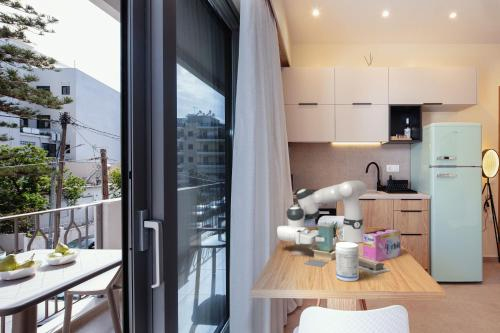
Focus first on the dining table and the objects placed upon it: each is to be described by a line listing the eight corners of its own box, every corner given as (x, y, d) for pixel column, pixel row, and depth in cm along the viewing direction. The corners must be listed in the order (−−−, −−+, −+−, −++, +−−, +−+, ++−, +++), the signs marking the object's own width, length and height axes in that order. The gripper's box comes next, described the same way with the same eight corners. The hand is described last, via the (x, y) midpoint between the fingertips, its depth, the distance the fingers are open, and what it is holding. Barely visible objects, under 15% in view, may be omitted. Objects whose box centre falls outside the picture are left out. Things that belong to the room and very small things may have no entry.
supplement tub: (337, 273, 145) (337, 240, 145) (359, 276, 141) (359, 242, 141) (334, 280, 136) (333, 245, 136) (357, 283, 132) (357, 247, 132)
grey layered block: (344, 255, 158) (359, 252, 163) (345, 265, 158) (359, 262, 163) (374, 265, 143) (389, 261, 147) (374, 276, 143) (390, 272, 147)
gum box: (389, 252, 181) (389, 227, 181) (402, 255, 174) (402, 230, 174) (362, 259, 167) (362, 233, 167) (376, 262, 161) (375, 235, 161)
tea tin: (318, 257, 169) (318, 224, 169) (322, 255, 173) (321, 222, 174) (329, 259, 166) (329, 225, 166) (333, 256, 170) (332, 223, 170)
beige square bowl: (307, 259, 168) (306, 249, 168) (318, 252, 180) (318, 243, 180) (334, 263, 159) (334, 253, 159) (344, 256, 172) (344, 246, 172)
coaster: (303, 265, 158) (303, 263, 158) (311, 260, 165) (311, 259, 165) (321, 268, 153) (321, 266, 153) (328, 263, 160) (328, 261, 160)
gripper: (310, 237, 186) (334, 240, 178) (294, 244, 169) (319, 248, 161) (310, 226, 186) (334, 229, 178) (294, 232, 169) (319, 235, 161)
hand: (327, 238), depth 169 cm, fingers closed on tea tin, 5 cm apart
